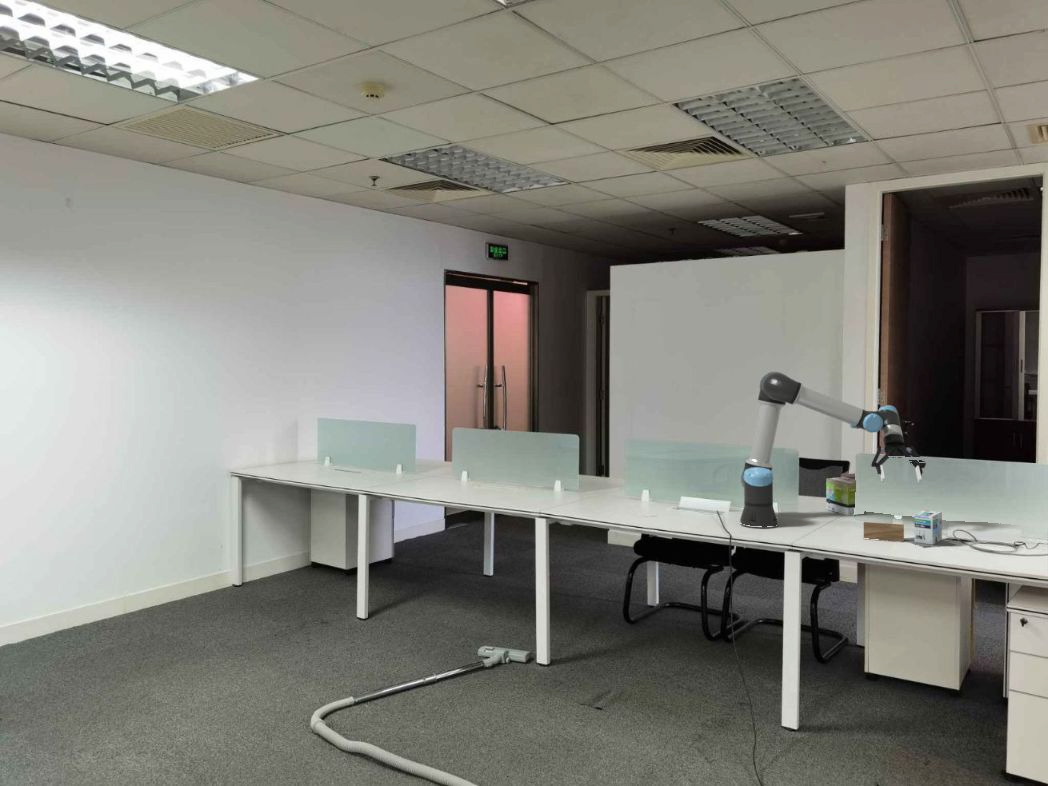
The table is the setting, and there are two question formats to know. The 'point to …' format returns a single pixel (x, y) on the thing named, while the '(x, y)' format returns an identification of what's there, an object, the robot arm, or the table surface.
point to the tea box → (841, 495)
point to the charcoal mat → (940, 543)
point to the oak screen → (884, 531)
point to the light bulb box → (928, 527)
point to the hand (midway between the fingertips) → (901, 480)
